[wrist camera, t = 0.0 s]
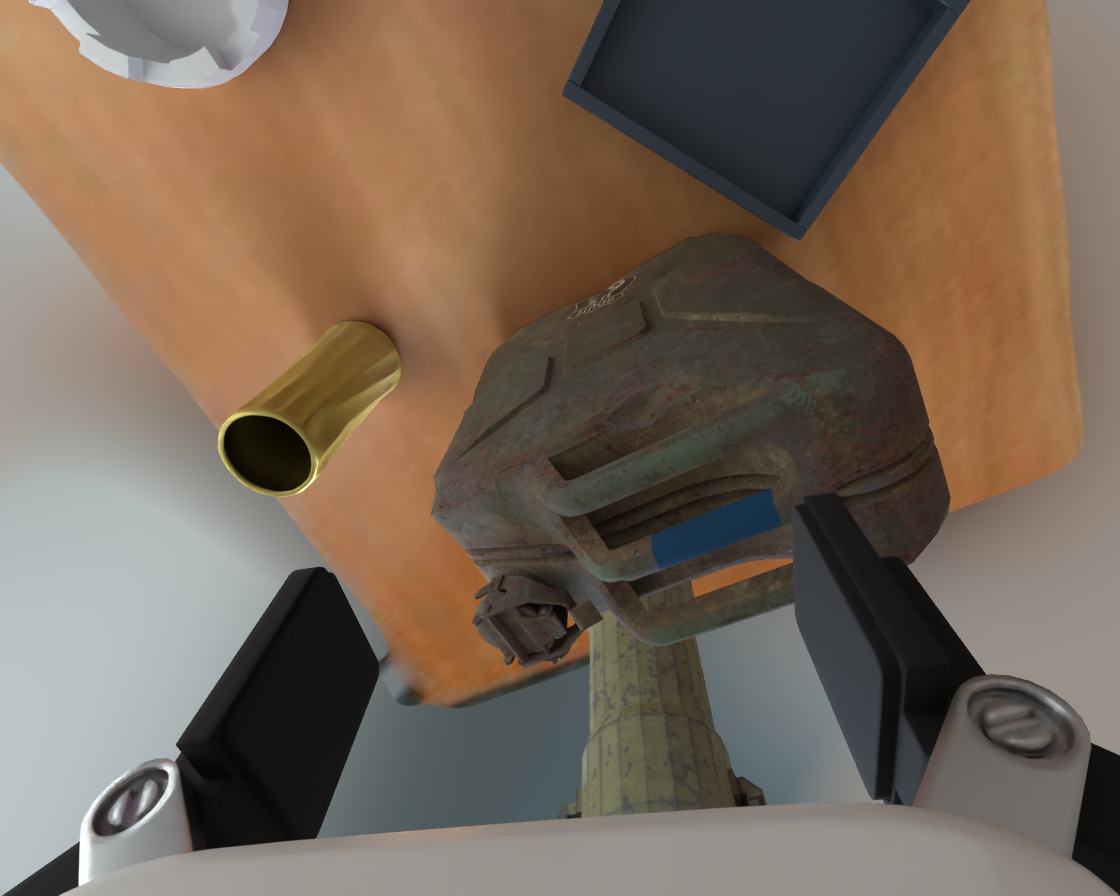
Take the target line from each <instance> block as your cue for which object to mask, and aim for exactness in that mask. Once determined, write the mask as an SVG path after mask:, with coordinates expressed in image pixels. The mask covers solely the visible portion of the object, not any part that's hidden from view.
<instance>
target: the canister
mask: <svg viewBox="0 0 1120 896" xmlns="http://www.w3.org/2000/svg"><path fill="white" fill-rule="evenodd" d="M928 425H929V419H928V415H927V412H926V408H925V405H924V402H923V398H922V395H921V391H920V388H919V385H918V381H917V378H916V374H915V371H914V368H913V364H912V361H911V357H910V355H909V354H908V352H907V350H906V348H905V347H904V345H903V344H902V343H901V342H900V341H899V340H898V339H897V338H896V336H895V335H893V334H891V333H890V332H888V331H887V330H885V329H884V328H882V327H881V326H879V325H878V324H876V323H875V322H873V321H872V320H870V319H869V318H867V317H866V316H864V315H863V314H861V313H860V312H858V311H856V310H855V309H853V308H852V307H850V306H849V305H847V304H846V303H844V302H843V301H841V300H840V299H838V298H837V297H835V296H834V295H832V294H831V293H829V292H828V291H826V290H825V289H823V288H822V287H820V286H818V285H816V284H814V283H812V282H810V281H808V280H806V279H805V278H804V277H802V276H801V275H799V274H798V273H797V272H795V271H794V270H792V269H791V268H790V267H788V266H787V265H785V264H784V263H783V262H781V261H780V260H778V259H777V258H776V257H774V256H773V255H771V254H770V253H769V252H767V251H766V250H764V249H763V248H762V247H760V246H759V245H757V244H756V243H755V242H753V241H752V240H750V239H748V238H746V237H743V236H739V235H729V234H722V233H719V232H717V233H712V234H706V235H701V236H696V237H691V238H687V239H686V240H684V241H682V242H680V243H679V244H677V245H675V246H673V247H672V248H670V249H668V250H666V251H665V252H663V253H661V254H659V255H658V256H656V257H654V258H652V259H651V260H649V261H647V262H645V263H644V264H642V265H640V266H638V267H637V268H635V269H633V270H631V271H630V272H629V273H627V274H626V275H624V276H623V277H621V278H620V279H619V280H617V281H616V282H615V283H613V284H612V285H611V286H609V287H608V288H607V289H606V290H604V291H603V292H602V293H599V294H596V295H593V296H591V297H588V298H585V299H582V300H579V301H577V302H574V303H571V304H568V305H565V306H563V307H561V308H559V309H557V310H555V311H553V312H551V313H549V314H547V315H545V316H543V317H541V318H539V319H537V320H535V321H533V322H532V323H530V324H528V325H526V326H524V327H522V328H521V329H519V330H518V331H517V332H516V333H515V334H513V335H512V336H511V337H510V338H508V339H507V340H506V341H505V342H504V343H502V344H501V345H500V346H499V347H498V348H497V349H496V350H495V351H494V352H493V353H492V355H491V356H490V357H489V359H488V361H487V363H486V366H485V368H484V371H483V373H482V375H481V378H480V380H479V383H478V385H477V387H476V390H475V394H474V399H473V403H472V405H471V406H470V407H469V408H468V409H467V410H466V411H465V413H464V416H463V419H462V421H461V424H460V426H459V428H458V430H457V432H456V434H455V436H454V438H453V440H452V442H451V444H450V446H449V448H448V450H447V452H446V454H445V456H444V458H443V459H442V461H441V463H440V465H439V467H438V469H437V471H436V473H435V475H434V480H435V488H436V493H435V498H434V503H433V508H432V512H431V515H432V516H433V517H434V519H435V520H436V521H437V522H438V523H439V524H440V525H441V526H442V527H443V528H444V529H445V530H446V531H447V532H448V533H449V534H450V535H451V536H452V537H453V538H454V539H455V540H456V541H457V542H458V543H459V544H460V545H461V546H462V547H463V548H465V550H466V553H467V554H468V556H469V557H470V558H472V559H474V563H475V565H476V566H477V567H478V569H479V570H480V571H481V572H482V574H483V575H484V576H485V578H486V579H487V580H488V581H489V584H487V585H486V586H484V587H482V588H481V589H480V590H479V591H478V592H477V593H476V595H475V596H474V597H475V598H476V599H478V598H481V597H482V596H484V595H486V594H488V595H487V596H486V597H485V598H484V599H482V600H481V602H480V604H479V606H478V608H477V611H476V613H475V616H474V618H473V621H472V623H473V625H474V626H476V629H477V631H478V633H479V634H480V635H481V637H482V638H483V639H484V640H485V641H486V642H487V643H489V644H490V645H492V646H493V647H495V648H497V649H500V650H501V651H502V652H503V654H504V655H505V659H504V662H505V664H506V665H510V664H511V663H513V661H514V658H515V656H516V657H517V659H518V664H519V666H520V667H522V668H525V667H528V666H531V665H534V664H537V663H539V662H542V661H548V662H549V661H552V662H553V664H556V663H557V661H558V660H557V659H558V658H561V659H562V658H563V657H564V656H565V655H566V654H567V653H568V651H569V650H570V648H571V645H572V644H573V643H574V642H575V641H576V639H577V638H578V637H579V636H580V635H581V633H582V632H583V631H584V630H585V629H588V628H589V627H591V626H593V625H594V624H596V623H598V622H600V621H601V620H603V617H602V616H601V614H600V613H602V612H606V611H611V612H612V613H613V614H614V615H615V616H616V617H617V618H618V619H619V620H620V622H621V623H622V624H623V625H624V626H625V627H626V628H627V629H628V630H629V631H630V632H631V633H632V634H633V635H634V636H635V637H636V638H637V639H638V640H640V641H641V642H643V643H645V644H648V645H655V646H665V645H670V644H673V643H676V642H679V641H682V640H685V639H688V638H691V637H694V636H697V635H700V634H703V633H706V632H709V631H713V630H716V629H719V628H722V627H725V626H728V625H731V624H734V623H737V622H740V621H743V620H746V619H749V618H752V617H755V616H758V615H761V614H764V613H768V612H771V611H774V610H776V609H779V608H783V607H785V606H789V605H792V604H795V602H794V570H793V562H792V563H790V564H787V565H784V566H781V567H779V568H776V569H773V570H770V571H768V572H765V573H762V574H759V575H756V576H754V577H751V578H748V579H745V580H743V581H740V582H737V583H734V584H732V585H729V586H726V587H723V588H720V589H718V590H715V591H712V592H709V593H707V594H704V595H701V596H698V597H696V598H693V599H690V600H687V601H685V602H682V603H679V604H676V605H673V606H671V607H668V608H665V609H662V610H660V611H657V612H653V613H650V612H648V611H647V610H646V608H645V607H644V605H643V604H642V602H641V601H640V599H642V598H645V597H647V596H650V595H653V594H655V593H658V592H661V591H663V590H666V589H669V588H671V587H674V586H677V585H680V584H682V583H685V582H688V581H690V580H693V579H696V578H698V577H701V576H704V575H707V574H709V573H712V572H715V571H717V570H720V569H723V568H726V567H729V566H733V565H736V564H741V563H745V562H750V561H757V560H765V559H784V558H785V559H793V537H792V507H793V506H794V505H801V500H802V497H803V496H809V495H816V494H823V493H830V492H834V493H836V494H837V495H838V496H839V498H840V499H841V501H842V502H843V504H844V505H845V507H846V508H847V510H848V511H849V513H850V514H851V516H852V517H853V519H854V520H855V521H856V523H857V524H858V526H859V527H860V529H861V530H862V532H863V533H864V535H865V536H866V538H867V539H868V541H869V542H870V544H871V545H872V546H873V548H874V549H875V551H876V552H877V554H878V555H879V557H880V558H883V557H890V556H897V557H899V558H901V560H902V561H903V562H904V563H905V564H906V565H909V564H911V563H913V562H914V561H915V560H916V558H917V557H918V556H919V555H920V553H921V552H922V551H923V550H924V549H925V548H926V546H927V545H928V544H929V543H930V542H931V540H932V539H933V538H934V537H935V535H936V534H937V533H938V531H939V529H940V528H941V526H942V524H943V522H944V520H945V519H946V517H947V515H948V510H949V504H950V494H949V490H948V486H947V482H946V478H945V475H944V471H943V467H942V464H941V460H940V457H939V453H938V450H937V448H936V446H935V444H934V437H933V433H932V431H931V429H930V427H929V426H928ZM568 613H569V614H570V615H571V617H572V618H573V620H574V621H575V622H576V623H575V624H574V625H573V626H571V627H568V628H567V618H568Z"/></svg>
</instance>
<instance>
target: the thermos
mask: <svg viewBox="0 0 1120 896" xmlns="http://www.w3.org/2000/svg"><path fill="white" fill-rule="evenodd" d="M693 598H694V594H693V589H692V585H691V580H690V581H688V582H685V583H682V584H680V585H677V586H674V587H671V588H669V589H666V590H663V591H661V592H658V593H655V594H653V595H650V596H647V597H645V598H642V599H640V601H641V602H642V604H643V605H644V607H645V608H646V610H647V611H648V612H650V613H653V612H657V611H660V610H662V609H665V608H668V607H671V606H673V605H676V604H679V603H682V602H685V601H687V600H690V599H693ZM600 614H601V616H602V617H603V620H601V621H600V622H598V623H596V624H594V625H593V626H591V627H589V628H588V629H587V631H588V633H589V635H590V738H589V740H588V742H587V745H586V747H585V750H584V753H583V755H582V787H578V788H577V796H576V802H572V803H569V804H566V805H563V806H560V808H559V814H558V819H571V818H585V817H599V816H613V815H627V814H641V813H655V812H669V811H683V810H697V809H711V808H729V807H747V806H766V805H767V802H766V798H765V796H764V794H763V791H762V789H760V788H759V787H757V786H756V785H754V784H753V783H751V782H750V781H748V780H747V779H745V778H744V777H738V778H736V776H735V774H734V772H733V770H732V769H731V764H730V760H729V755H728V752H727V750H726V748H725V745H724V744H723V741H722V739H721V738H720V736H719V735H718V734H717V732H716V731H715V728H714V723H713V719H712V713H711V709H710V704H709V699H708V695H707V690H706V685H705V680H704V675H703V670H702V666H701V661H700V656H699V652H698V647H697V642H696V636H694V637H691V638H688V639H685V640H682V641H679V642H676V643H673V644H670V645H665V646H655V645H648V644H645V643H643V642H641V641H640V640H638V639H637V638H636V637H635V636H634V635H633V634H632V633H631V632H630V631H629V630H628V629H627V628H626V627H625V626H624V625H623V624H622V623H621V622H620V620H619V619H618V618H617V617H616V616H615V615H614V614H613V613H612V612H611V611H606V612H602V613H600Z"/></svg>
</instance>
